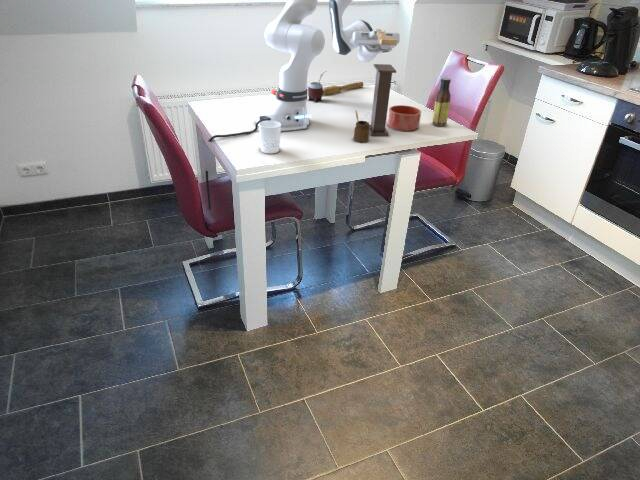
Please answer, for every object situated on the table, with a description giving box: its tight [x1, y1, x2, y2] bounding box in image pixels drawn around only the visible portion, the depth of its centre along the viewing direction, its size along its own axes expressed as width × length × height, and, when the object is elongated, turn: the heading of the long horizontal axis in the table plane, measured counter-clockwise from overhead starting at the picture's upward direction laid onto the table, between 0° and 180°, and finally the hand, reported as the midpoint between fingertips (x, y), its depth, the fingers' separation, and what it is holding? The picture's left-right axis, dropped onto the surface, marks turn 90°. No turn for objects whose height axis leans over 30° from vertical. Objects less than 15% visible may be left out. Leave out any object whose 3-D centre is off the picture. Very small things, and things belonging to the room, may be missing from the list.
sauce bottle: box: [432, 77, 452, 127], centre depth 208 cm, size 6×6×20 cm
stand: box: [369, 63, 397, 137], centre depth 195 cm, size 10×7×26 cm
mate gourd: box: [307, 70, 327, 103], centre depth 230 cm, size 8×8×15 cm
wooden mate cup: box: [353, 109, 372, 143], centre depth 190 cm, size 6×6×12 cm
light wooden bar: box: [374, 28, 398, 46], centre depth 195 cm, size 22×6×2 cm, turn 6°
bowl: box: [387, 104, 422, 132], centre depth 208 cm, size 13×13×7 cm
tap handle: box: [322, 81, 364, 96], centre depth 249 cm, size 3×3×30 cm
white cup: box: [258, 120, 282, 154], centre depth 177 cm, size 8×8×10 cm
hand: (379, 32), depth 201 cm, fingers closed on light wooden bar, 2 cm apart
